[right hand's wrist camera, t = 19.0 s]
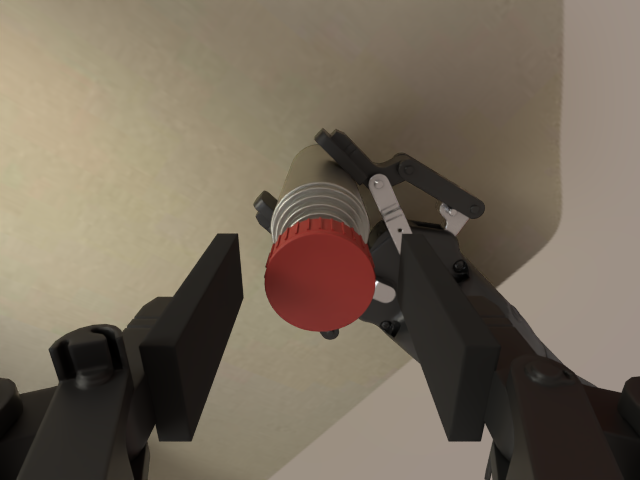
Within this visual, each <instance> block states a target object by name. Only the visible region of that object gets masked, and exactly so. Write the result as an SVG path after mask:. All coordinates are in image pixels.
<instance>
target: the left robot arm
mask: <svg viewBox="0 0 640 480" xmlns="http://www.w3.org/2000/svg"><path fill="white" fill-rule="evenodd" d="M315 141H316V142H317V143H318V144H319V145H320V146H321V147H322V148H323V149H324V150H325V151H326V152H327V153H328V154H329V155H330V156H331V157H332V158H333V159H334V160H335V161H336V162H337V163H338V164H339V165H340V166H341V167H342V168H343V169H344V170H345V171H346V172H347V173H348V174H349V175H350V176H351V177H352V178H353V179H354V180H355V181H356V182H357V183H358V184H359V185H361V184H362V183H363V184H364V185H365V186H366V187H367V188H368V189H369V190H370V192H371V194H372V196H373V198H374V200H375V203H376V205H377V207H378V209H379V211H380V214H381V216H382V218H383V220H384V221H383V220H381V221H380V222H379V223H378V224H377V225H376V226H375V227H374V228H373V229H372V231H371V232H370V234H369V238H368V242H367V245H368V248H369V251H370V253H371V256H372V259H373V262H374V265H375V268H374V271H375V275H376V287H375V293H374V296H373V299H372V301H371V303H370V305H369V306H368V308H367V309H366V311H365V312H364V313H363V314H362V315H361V316H360V317H359V319H360V320H362V321H365V322H370V323H373V324H375V325H377V326H378V327H380V328H381V329H382V330H383V331H384V332H385V333H386V334H387V335H388V336H389V337H390V338H391V339H392V340H393V341H395V342H396V343H397V344H398V345H399V346H400V347H401V348H403V349H404V350H405V351H406V352H407V353H408V354H409V355H411V356H412V357H413V358H414V359H415V360H416V361H418V362H419V363H420V361H419V359H418V356H417V353H416V350H415V348H414V345H413V342H412V339H411V337H410V334H409V331H408V328H407V326H406V323H405V320H404V317H403V315H402V312H401V309H400V306H399V304H398V301H397V298H396V297H397V286H398V274H399V263H400V251H401V239H402V234H423V235H424V236H425V238H426V239H427V241H428V242H429V244H430V245H431V246H432V248H433V249H434V251H435V252H436V254H437V255H438V256H439V258H440V259H441V261H442V262H443V264H444V265H445V266H446V268H447V269H448V271H449V272H450V274H451V275H452V276H453V278H454V279H455V281H456V282H457V284H458V285H459V286H460V288H461V289H462V291H463V292H464V294H465V295H466V296H484V297H485V298H487V299H489V300H490V301H492V302H493V303H495V304H496V305H498V307H499V308H500V309H501V310H502V312H503V313H504V314H505V315H506V318H508V319H509V320H510V321H511V323H512V324H513V327H515V328H516V329H517V330H518V331H519V332H520V334H521V335H522V336H523V337H524V339H525V340H526V341H527V342H528V344H529V345H530V346H531V347H532V348H533V350H534V351H535V352H536V353H537V355H539V356H543V357H547V358H550V359H553V360H555V361H557V362H559V363H561V364H563V363H562V362H561V361H560V360H559V359H558V358H557V357H556V356H555V355H554V354H553V353H552V352H551V351H550V350H549V349H548V348H547V347H546V346H545V345H544V344H543V343H542V342H541V341H540V340H539V338H538V337H537V336H536V335H535V333H534V332H533V330H532V329H531V327H530V326H529V325H528V323H527V322H526V321H525V319H524V318H523V317H522V316H521V315H520V314H519V312H518V311H517V309H516V308H515V307H514V306H512V305H511V304H510V303H509V302H508V301H507V300H506V299H505V298H504V297H503V296H502V295H501V294H500V293H499V292H498V291H497V290H496V289H495V288H494V287H493V286H492V285H491V284H490V283H489V281H488V280H487V279H486V278H485V277H484V276H483V275H482V274H481V273H480V272H479V271H478V270H477V269H476V268H475V267H474V266H473V265H472V264H471V263H470V262H469V261H468V260H467V259H466V258H465V257H464V256H463V255H462V253H461V252H460V249H459V244H458V240H457V238H456V236H457V234H458V233H459V232H460V230H461V229H462V228H463V226H464V225H465V224H466V222H467V221H468V220H469V218H471V219H476V218H478V217H480V216H481V215H482V214H483V213H484V210H485V205H484V203H483V202H482V201H481V200H479V199H478V198H476V197H475V196H474V195H472V194H471V193H469V192H468V191H466V190H465V189H463V188H461V187H460V186H458V185H456V184H455V183H453V182H452V181H450V180H448V179H447V178H445V177H443V176H442V175H440V174H438V173H437V172H435V171H433V170H432V169H430V168H428V167H427V166H425V165H424V164H422V163H420V162H419V161H417V160H415V159H414V158H412V157H410V156H409V155H407V154H405V153H398V154H396V155H395V156H394V157H393V158H392V159H390V160H388V161H386V162H384V163H374V162H372V161H371V160H370V159H369V158H368V157H367V156H366V155H365V154H364V153H363V152H362V151H361V150H360V149H359V148H358V147H357V146H356V145H355V144H354V143H353V141H352V140H351V139H350V138H349V137H348V136H347V135H346V134H345V133H344V132H341V131H339V130H337V129H335V130H334V131H333V132H332V133H331V134H329V133H328V132H327V131H326V130H325V129H324V128H322V129H321V130H320V132H319V133H318V134H317V135H316V136H315ZM405 180H406V181H408V182H409V183H411V184H413V185H414V186H416V187H418V188H419V189H421V190H423V191H424V192H426V193H428V194H429V195H431V196H433V197H435V198H436V199H438V200H437V202H436V209H437V211H438V212H439V213H440V214H441V215H442V223H441V225H440V224H433V223H426V222H419V221H412V220H406V218H405V215H404V213H403V211H402V209H401V207H400V205H399V203H398V201H397V198H396V196H395V194H394V191H393V189H392V186H394V185H396V184H399V183H401V182H403V181H405ZM277 202H278V201H277V200H276V199H275V198H274V197H273V196H272V195H271V194H270V193H268V192H267V191H263V192H262V193H261V194H260V195H259V197H258V198H257V199H256V201H255V202H254V207H255V208H256V210H257V211H258V212H257V214H256V218H257V220H258V222H259V224H260V225H261V226H262V227H264V228H265V229H266V230H267V231H268V232H269V233H270V234H271V220H272V216H273V213H274V210H275V207H276V205H277ZM320 333H321V335H322V336H323V337H324V338H325V339H329V340H331V339H335V338H336V337H337V336H338V334H339V329H336V330H331V331H321V332H320ZM576 376H577V375H576ZM577 377H578V379H579V380H580V381H581V383H582V384H584V385H588V386H592V387H596V386H595V385H593V384H591V383H590V382H588V381H586V380H584V379H583V378H581V377H579V376H577ZM597 388H598V387H597Z"/></svg>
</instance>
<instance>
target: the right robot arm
mask: <svg viewBox="0 0 640 480" xmlns="http://www.w3.org/2000/svg"><path fill="white" fill-rule="evenodd" d="M243 298H244V297H243V286H242V274H241V263H240V251H239V239H238V234H217V235H216V236H215V238H214V239H213V241H212V242H211V244H210V245H209V246H208V248H207V249H206V251H205V252H204V254H203V255H202V256H201V258H200V259H199V261H198V262H197V264H196V265H195V266H194V268H193V269H192V271H191V272H190V274H189V275H188V276H187V278H186V279H185V281H184V282H183V284H182V285H181V286H180V288H179V289H178V291H177V292H176V294H175V295H174V296H173V297H157V298H155V299H154V300H152V301H150V302H149V303H147V304H146V305H144V306H143V307H142V308H141V310H140V311H139V312H138V313H137V314H136V316H135V318H134V319H132V321H131V322H130V323H129V324H128V326H127V328H125V329H124V331H123V332H122V331H121V330H120V329H119V328H118V327H116V326H113V325H108V324H99V325H91V326H87V327H83V328H79V329H77V330H74V331H72V332H70V333H67V334H66V335H64V336H63V337H61V338H60V339H58V340H57V341H55V342H54V344H53V345H52V346H51V347H50V348H49V352H50V355H51V358H52V361H53V364H54V367H55V370H56V373H57V376H58V380H59V384H58V386H55V387H51V388H47V389H42V390H37V391H33V392H28V393H23V394H19V393H18V390H17V388H16V385H15V383H14V382H12V381H11V380H10V379H5V378H0V480H147V479H148V470H149V461H150V452H149V447H148V442H147V440H148V438H149V436H150V434H151V432H152V430H153V428H154V426H155V424H156V429H157V433H158V438H159V441H192V438H193V436H194V433H195V430H196V427H197V425H198V422H199V419H200V416H201V414H202V411H203V408H204V405H205V403H206V400H207V397H208V394H209V392H210V389H211V386H212V383H213V381H214V378H215V375H216V372H217V370H218V367H219V364H220V361H221V359H222V356H223V353H224V350H225V348H226V345H227V342H228V339H229V337H230V334H231V331H232V328H233V326H234V323H235V320H236V317H237V315H238V312H239V309H240V306H241V304H242V301H243ZM396 298H397V301H398V304H399V306H400V309H401V312H402V315H403V317H404V320H405V323H406V326H407V328H408V331H409V334H410V337H411V339H412V342H413V345H414V348H415V350H416V353H417V356H418V359H419V361H420V364H421V367H422V370H423V372H424V375H425V378H426V380H427V383H428V386H429V389H430V392H431V394H432V397H433V400H434V402H435V405H436V408H437V411H438V414H439V416H440V419H441V422H442V424H443V427H444V430H445V433H446V436H447V438H448V441H481V438H482V433H483V429H484V424H486V426H487V428H488V430H489V432H490V434H491V436H492V438H493V442H492V447H491V451H490V455H489V459H488V464H487V468H486V473H485V480H490V478H491V473H492V478H493V480H640V377H632V378H630V379H629V380H627V381H626V382H625V385H624V388H623V390H622V393H620V392H615V391H610V390H606V389H601V388H597V387H592V386H588V385H584V384H582V383H581V381H580V380H579V379H578V377H577V376H576V374H575V373H574V372H573V371H571V370H570V369H569V368H567V367H566V366H565V365H563V364H561V363H559V362H557V361H555V360H553V359H550V358H547V357H543V356H539V355H537V353H536V352H535V351H534V350H533V348H532V347H531V346H530V345H529V344H528V342H527V341H526V340H525V339H524V337H523V336H522V335H521V334H520V332H519V331H518V330H517V329H516V328H515V327H513V324H512V323H511V321H510V320H509V319H508V318H506V315H505V314H504V313H503V312H502V310H501V309H500V308H499V307H498V305H496V304H495V303H493V302H492V301H490V300H489V299H487V298H485V297H484V296H466V295H465V294H464V292H463V291H462V289H461V288H460V286H459V285H458V284H457V282H456V281H455V279H454V278H453V276H452V275H451V274H450V272H449V271H448V269H447V268H446V266H445V265H444V264H443V262H442V261H441V259H440V258H439V256H438V255H437V254H436V252H435V251H434V249H433V248H432V246H431V245H430V244H429V242H428V241H427V239H426V238H425V236H424V235H423V234H402V239H401V251H400V263H399V274H398V286H397V297H396Z"/></svg>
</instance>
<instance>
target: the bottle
mask: <svg viewBox="0 0 640 480" xmlns="http://www.w3.org/2000/svg"><path fill="white" fill-rule="evenodd" d="M319 217H321V218H323V219H331V218H332V219H333V220H335V221H338V222H341V223H342V222H344V224H345V225H347V226H349V227H350V228H352V227H353V228H354V231H355V232H356V233H358V234H359V235H361V236H362V239H363V241H364V243H365V244H366V243H367V242H368V238H369V231H370V225H369V218H368V215H367V212H366V209H365V206H364V204H363V201H362V198H361V196H360V193H359V190H358V188H357V185H356V182H355V180H354V179H353V178H352V177H351V176H350V175H349V174H348V173H347V172H346V171H345V170H344V169H343V168H342V167H341V166H340V165H339V164H338V163H337V162H336V161H335V160H334V159H333V158H332V157H331V156H330V155H329V154H328V153H327V152H326V151H325V150H324V149H323V148H322V147H321V146H320V145H319V144H318V145H312V146H309V147H307V148H305V149H303V150H302V151H301V152H299V153H298V154H297V156H296V157H295V158H294V160H293V162H292V164H291V167H290V170H289V172H288V175H287V178H286V180H285V183H284V186H283V189H282V191H281V194H280V197H279V199H278V202H277V205H276V207H275V210H274V213H273V216H272V220H271V236H272V241H273V243H276V241H277V240H278V237H279V235H282V234H283V233H284V232H285V231H286V229H287V228H288V227H289V228H290V227H292V226H293V225H295V224H296V222H302V221H305V220H307V219H308V218H310V219H319Z"/></svg>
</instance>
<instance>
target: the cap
mask: <svg viewBox="0 0 640 480" xmlns="http://www.w3.org/2000/svg"><path fill="white" fill-rule="evenodd" d="M266 268H267V269H266V272H265V275H264V278H265V291H266V295H267V298H268V300H269V302H270V304H271V306H272V308H273V309H274V310H275V311H276V313H277V314H278V315H279V316H280V317H281V318H283V319H284V320H285V321H287V322H288V323H290V324H292V325H294V326H296V327H298V328H301V329H304V330H309V331H318V332H321V331H331V330H336V329H339V328H342V327H345V326H347V325H349V324H351V323H352V322H354V321H355V320H357V319H358V318H359V317H360V316H361V315H362V314H363V313H364V312H365V311H366V309H367V308H368V306H369V305H370V303H371V301H372V299H373V296H374V293H375V287H376V275H375V271H374V268H375V265H374V262H373V259H372V256H371V253H370V251H369V248H368V245H367V243H366V244H365V243H364V241H363V239H362V236H361V235H359V234H358V233H356V232H355V231H354V228H353V227H352V228H350V227H349V226H347V225H345V224H344V222H342V223H341V222H338V221H335V220H333V219H332V218H331V219H323V218H321V217H319V219H310V218H308V219H307V220H305V221H302V222H296V224H295V225H293V226H292V227H290V228H289V227H288V228H287V229H286V231H285V232H284V233H283V234H282V235H279V237H278V240H277V241H276V243H273V246H272V249H271V252H270V253H269V257H268V260H267V263H266Z"/></svg>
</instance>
